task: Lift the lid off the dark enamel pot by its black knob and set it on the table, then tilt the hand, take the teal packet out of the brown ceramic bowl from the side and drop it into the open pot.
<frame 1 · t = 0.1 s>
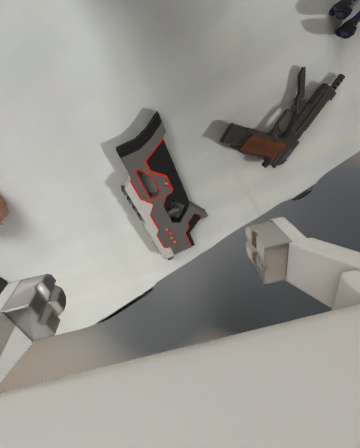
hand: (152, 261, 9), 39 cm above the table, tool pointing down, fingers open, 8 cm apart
handgun: (277, 110, 45), on the table
futuristic firearm: (165, 196, 52), on the table
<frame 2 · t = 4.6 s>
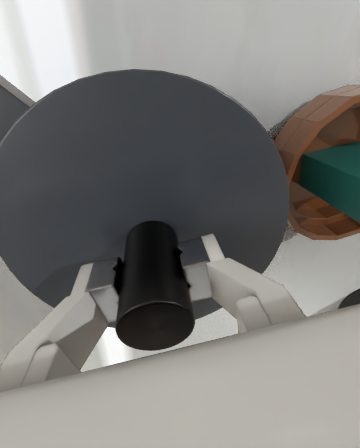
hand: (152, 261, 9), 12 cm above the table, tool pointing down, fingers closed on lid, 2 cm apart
packet: (327, 163, 20), resting on bowl
pot: (148, 172, 19), on the table
bowl: (323, 162, 21), on the table
lid: (151, 234, 11), point 10 cm above the table, touching gripper, pot
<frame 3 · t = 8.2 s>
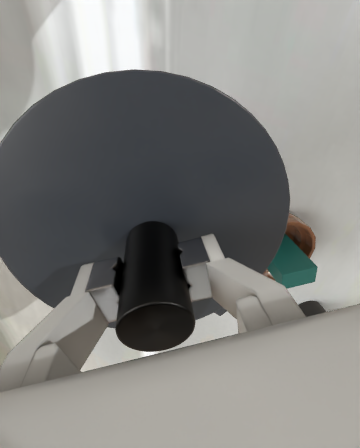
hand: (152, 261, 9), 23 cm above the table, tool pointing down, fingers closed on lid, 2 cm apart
packet: (269, 241, 39), resting on bowl
mug: (310, 309, 53), on the table
bowl: (267, 239, 39), on the table
lid: (152, 235, 11), point 21 cm above the table, touching gripper
when the fingers open (2 cm above the table, at t = 12.0 s): lid stays where it is, point 1 cm above the table.
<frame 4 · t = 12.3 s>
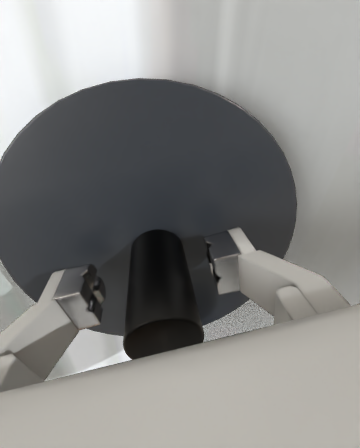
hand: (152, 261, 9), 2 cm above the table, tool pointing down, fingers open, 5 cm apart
lid: (156, 242, 11), point 1 cm above the table
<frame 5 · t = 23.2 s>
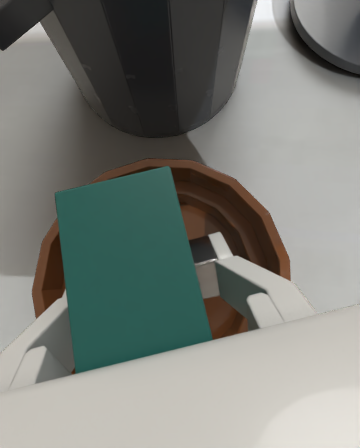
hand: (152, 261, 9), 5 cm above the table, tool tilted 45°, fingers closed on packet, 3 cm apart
packet: (167, 275, 14), point 1 cm above the table, touching bowl, gripper
pot: (159, 68, 18), on the table
bowl: (167, 275, 14), on the table
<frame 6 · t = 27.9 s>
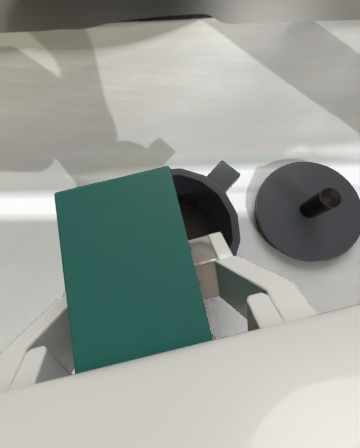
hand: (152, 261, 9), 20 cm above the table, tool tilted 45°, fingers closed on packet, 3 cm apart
packet: (167, 275, 14), point 15 cm above the table, touching gripper
pot: (177, 244, 30), on the table
lid: (306, 210, 29), point 1 cm above the table
when the fingers open (8 cm above the table, at t = 33.2 s): packet stays where it is, resting on pot.
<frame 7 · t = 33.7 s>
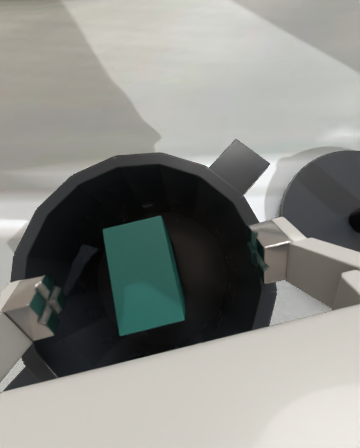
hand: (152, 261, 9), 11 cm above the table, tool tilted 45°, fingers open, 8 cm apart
packet: (162, 273, 19), point 1 cm above the table, touching pot
pot: (162, 274, 20), on the table
lid: (358, 222, 20), point 1 cm above the table
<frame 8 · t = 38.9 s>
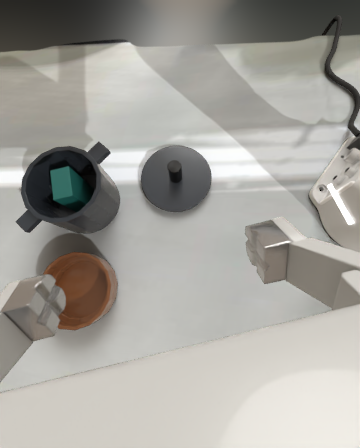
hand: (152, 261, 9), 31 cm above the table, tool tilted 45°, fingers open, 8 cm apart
packet: (87, 201, 43), point 1 cm above the table, touching pot
pot: (88, 202, 44), on the table
bowl: (85, 288, 40), on the table
lid: (176, 178, 43), point 1 cm above the table
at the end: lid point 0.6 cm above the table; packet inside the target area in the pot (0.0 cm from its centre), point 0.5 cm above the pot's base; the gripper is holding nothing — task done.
